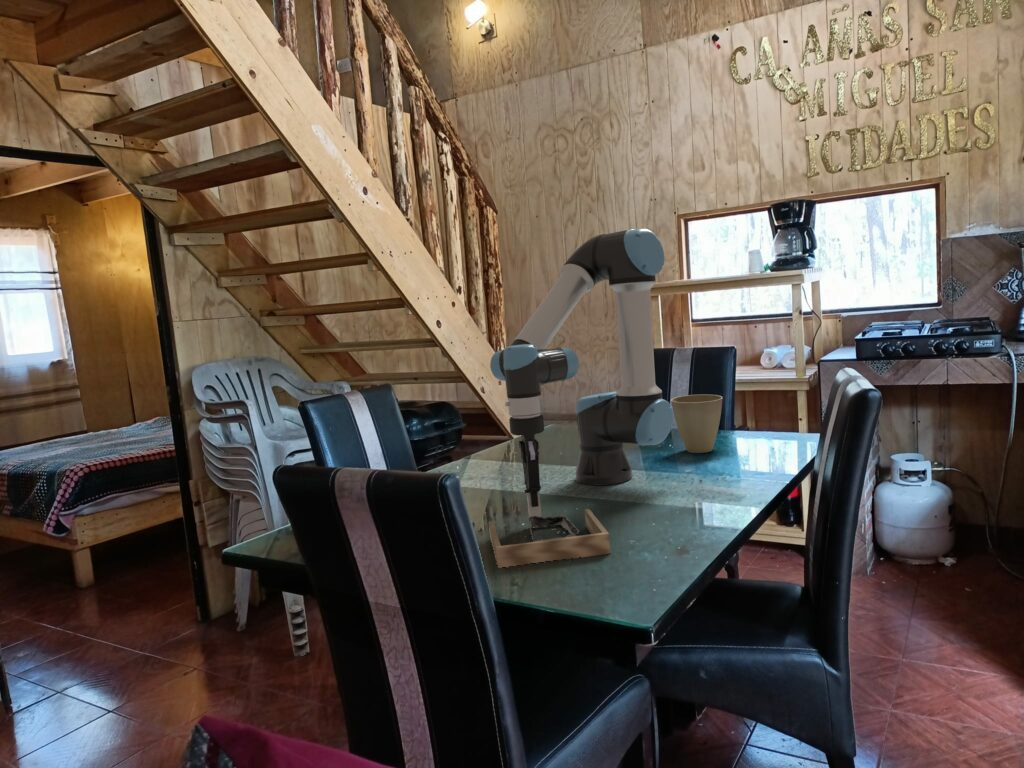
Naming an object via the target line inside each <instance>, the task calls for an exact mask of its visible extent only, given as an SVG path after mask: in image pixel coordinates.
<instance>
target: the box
mask: <svg viewBox="0 0 1024 768" xmlns="http://www.w3.org/2000/svg"><path fill="white" fill-rule="evenodd" d="M584 518H585V528H586V530H588V532H589V533H590V534H584V535H576V536H574V537H566V536H565V537H566V538H564V537H563V538H559V539H551V538H550V539H551V540H543V541H536V540H535V541H536V542H532V541H529V542H524V543H523V542H521V543H513V544H506V545H502V544H501V542H500V539H499V535H498V532H497V528H496V527H495V523H494V521H493V520H492V521H491V520H490V521H488V530H489V540H490V543H492V544H491V547H493V548H492V550H494V551H493V555H494V554H495V555H494V558H495V561H497V562H496V566H497V565H498V566H497V569H498V568H499V569H503V568H502V567H506V568H510V567H509V566H514V567H517V566H516V565H521V566H524V565H523V564H529V565H531V564H530V563H536V562H544V563H546V562H545V561H551V562H554V561H553V560H558V561H563V560H562V559H566V560H572V559H571V558H573V559H578V558H579V557H581V558H585V557H586V558H587V557H594V556H601V555H603V556H604V555H609V553H610V554H611V543H610V533H609V532H608V530H607V529H606V527H604V525H603V524H602V523H601V521H600V520H599V519H598V518H597V516H595V514H594V513H593V512H592V511H591V510H590V509H589V508H587V509H584ZM579 559H580V558H579ZM536 564H537V563H536Z"/></svg>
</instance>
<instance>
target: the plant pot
mask: <svg viewBox="0 0 1024 768" xmlns="http://www.w3.org/2000/svg"><path fill="white" fill-rule="evenodd" d="M670 402H671V407H672V410H673V417H674V419H675V420H674V421H675V423H676V427H677V429H678V433H679V435H680V438H681V440H682V442H683V444H684V445H683V446H684V448H685V450H686V451H687V453H692V454H703V453H704V454H705V453H709V452H712V451H713V449H714V446H715V442H716V440H717V435H718V432H719V431H718V430H719V426H720V421H721V417H722V416H721V414H722V406H723V396H721V395H718V394H707V393H706V394H689V395H681V396H676V397H672V398H671V399H670Z"/></svg>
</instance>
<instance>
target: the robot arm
mask: <svg viewBox="0 0 1024 768" xmlns="http://www.w3.org/2000/svg"><path fill="white" fill-rule="evenodd" d="M664 265H665V251H664V248H663V245H662V243H661V241H660V239H659V237H657V234H655V233H654V232H653V231H651V230H650V229H648V228H632V229H627V230H621V231H615V232H610V233H603V234H598V235H594V236H593V237H591V238H589V239H587V240H586V241H585V242H584V243H582V244H581V245H580V246H578V248H577V249H575V251H574V252H573V253H572V254H571V255H570V256H569V257H568V259H566V261H565V263H564V264H563V265H562V267H561V268H560V271H559V274H560V275H559V278H558V279H557V280H556V282H555V283H554V285H552V287H551V288H550V290H549V291H548V293H547V294H546V295H545V297H544V298H543V300H542V301H541V303H539V305H538V306H537V308H536V309H535V310H534V312H533V314H532V315H531V316H530V317H529V319H528V320H527V321H526V323H525V325H524V326H523V327H522V328H521V330H520V332H519V333H518V334H517V336H515V338H514V339H513V341H512V343H511V344H510V345H509V346H506V347H505V348H504V349H500V350H498V351H496V352H495V353H493V355H492V357H491V359H490V365H489V366H490V367H489V368H490V371H491V374H492V376H493V377H494V378H496V379H497V380H499V381H502V382H503V381H504V382H505V387H506V397H507V401H506V402H504V406H505V407H508V408H507V410H508V415H509V416H510V418H509V419H508V420H509V421H508V422H509V431H510V434H511V435H513V436H521V437H520V438H521V440H519V441H518V447H519V449H520V458H521V461H522V469H523V477H524V485H525V489H524V490H523V491H524V494H526V500H527V511H528V518H529V517H531V516H538V517H543V516H542V507H541V506H542V505H541V496H540V495H541V494H540V491H541V488H542V487H541V481H540V479H541V478H540V464H539V463H540V459H539V458H540V457H539V455H540V452H539V449H540V447H539V446H540V445H539V441H537V439H536V437H535V435H537V434H541V433H543V432H544V430H545V421H544V415H542V413H543V412H544V409H543V407H544V406H543V396H542V388H541V386H543V385H547V384H552V383H557V382H561V381H562V382H565V381H567V380H569V379H572V378H574V377H576V375H577V373H578V372H579V367H580V363H579V362H580V361H579V358H578V355H577V354H576V351H575V350H573V349H571V348H570V347H567V346H566V347H565V346H564V347H561V346H560V347H559V346H558V347H556V348H548V349H547V347H548V346H549V345H550V344H551V342H552V340H553V339H554V337H556V334H557V333H558V332H559V330H560V329H561V327H562V326H563V324H564V323H565V321H566V320H567V319H568V317H569V316H570V315H571V313H572V311H573V310H574V308H576V306H577V305H578V303H579V301H580V300H581V299H582V297H583V296H584V294H587V293H590V291H592V290H593V288H594V287H595V286H596V285H597V284H598V283H600V282H603V281H605V280H608V286H609V288H611V289H612V290H613V292H614V293H615V304H616V318H617V334H618V335H617V336H618V352H619V366H620V368H619V369H620V383H621V384H620V388H619V389H618V390H617V391H608V392H601V393H597V394H591V395H587V396H583V397H580V398H579V399H577V401H576V412H575V413H576V414H575V415H576V424H577V431H578V440H579V441H578V442H579V456H578V461H577V466H576V468H575V469H576V470H575V481H576V482H577V483H578V484H581V485H582V484H583V485H586V486H607V485H608V486H609V485H614V484H615V485H616V484H620V483H624V482H627V481H629V480H631V479H632V478H633V470H632V466H631V463H630V461H629V459H628V457H627V454H626V452H625V449H624V444H629V445H630V444H633V445H639V446H644V447H645V446H655V445H656V446H657V445H659V444H661V443H662V442H664V441H665V440H666V438H668V435H669V434H670V432H671V430H672V426H673V422H674V412H673V407H672V405H671V404H670V402H669V401H667V400H666V399H663V390H662V389H661V388H660V387H659V386H658V385H657V384H656V371H655V370H656V368H655V355H654V339H653V338H654V337H653V336H654V335H653V319H652V318H653V317H652V302H651V289H652V288H653V287H654V285H655V284H656V283H657V282H656V281H657V279H656V276H657V275H658V274H659V273H660V272H662V270H663V266H664Z"/></svg>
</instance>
